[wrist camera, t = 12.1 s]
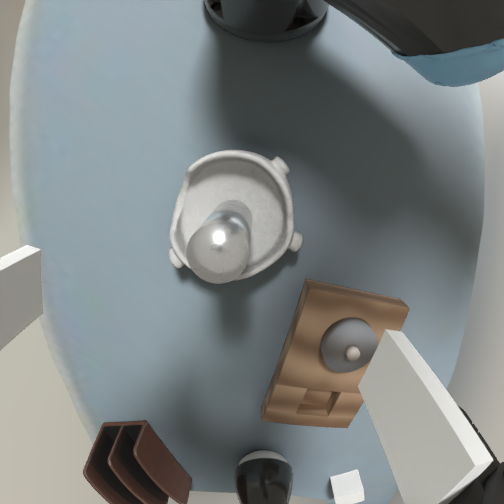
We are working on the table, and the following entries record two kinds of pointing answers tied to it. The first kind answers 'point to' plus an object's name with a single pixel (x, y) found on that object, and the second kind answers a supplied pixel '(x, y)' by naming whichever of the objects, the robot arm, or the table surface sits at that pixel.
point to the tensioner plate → (308, 366)
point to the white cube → (347, 488)
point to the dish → (242, 189)
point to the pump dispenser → (263, 478)
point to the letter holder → (135, 466)
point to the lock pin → (221, 243)
